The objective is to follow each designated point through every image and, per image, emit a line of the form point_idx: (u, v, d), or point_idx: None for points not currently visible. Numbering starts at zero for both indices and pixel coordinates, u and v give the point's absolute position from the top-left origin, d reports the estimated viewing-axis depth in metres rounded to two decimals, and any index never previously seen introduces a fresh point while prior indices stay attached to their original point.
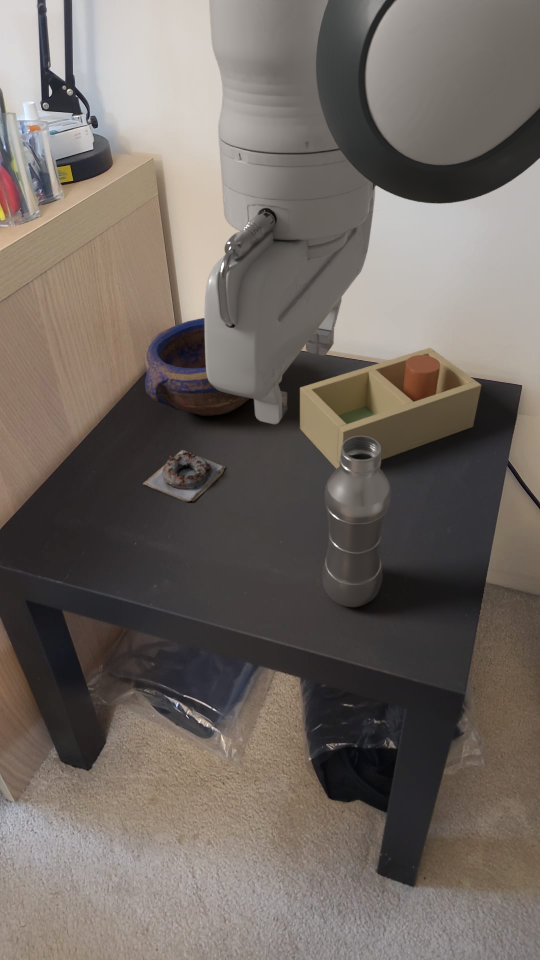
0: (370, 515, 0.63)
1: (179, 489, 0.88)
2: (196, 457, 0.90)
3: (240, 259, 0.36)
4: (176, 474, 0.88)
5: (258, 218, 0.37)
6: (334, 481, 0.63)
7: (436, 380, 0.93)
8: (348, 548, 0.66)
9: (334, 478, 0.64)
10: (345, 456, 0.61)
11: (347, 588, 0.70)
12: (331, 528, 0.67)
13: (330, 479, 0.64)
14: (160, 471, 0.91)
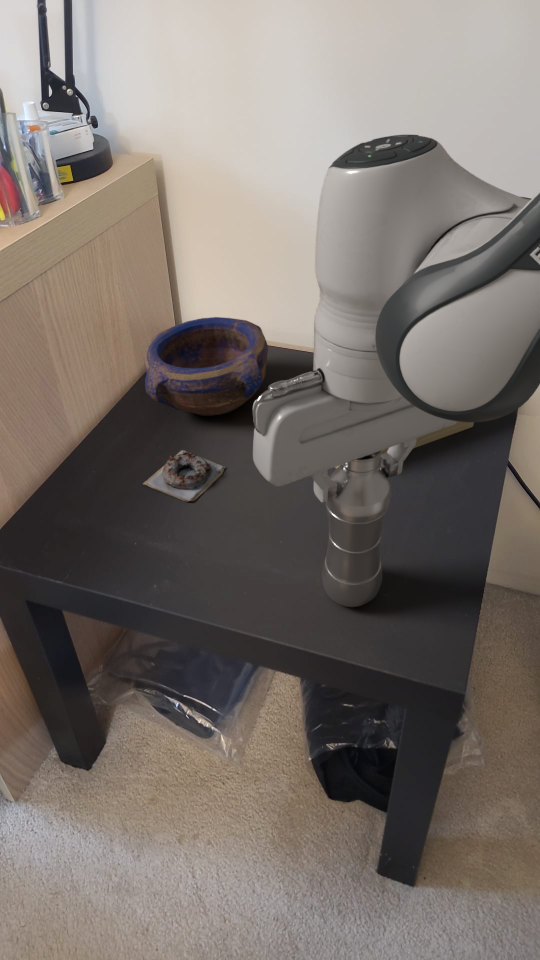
0: (370, 515, 0.63)
1: (179, 489, 0.88)
2: (196, 457, 0.90)
3: (276, 398, 0.53)
4: (176, 474, 0.88)
5: (306, 375, 0.54)
6: (334, 481, 0.63)
7: None
8: (348, 548, 0.66)
9: (334, 478, 0.64)
10: None
11: (346, 588, 0.70)
12: (331, 528, 0.67)
13: None
14: (160, 471, 0.91)
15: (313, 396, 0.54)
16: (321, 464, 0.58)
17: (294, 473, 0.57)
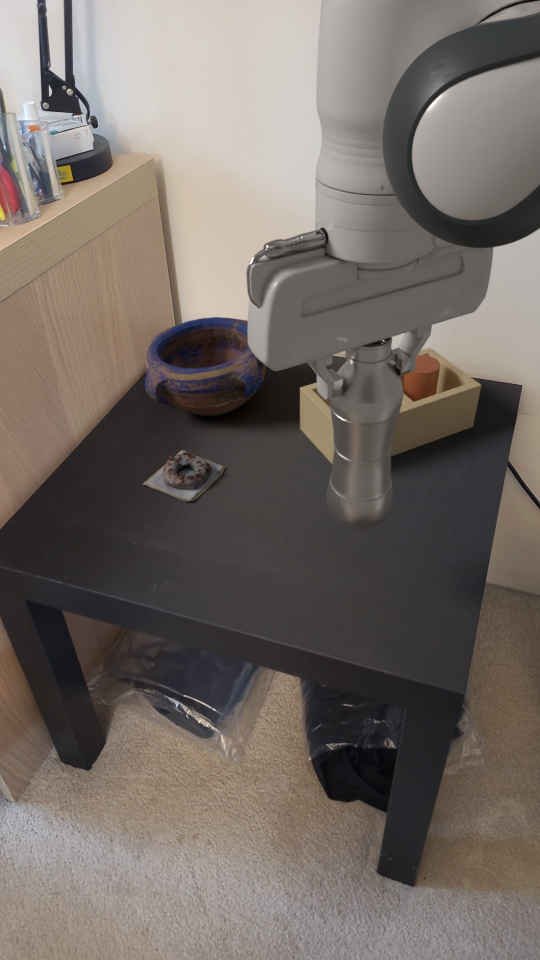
0: (380, 413, 0.56)
1: (179, 489, 0.88)
2: (196, 457, 0.90)
3: (273, 259, 0.47)
4: (176, 474, 0.88)
5: (307, 233, 0.47)
6: None
7: (436, 380, 0.93)
8: (355, 457, 0.60)
9: (340, 374, 0.57)
10: None
11: (354, 507, 0.63)
12: (336, 435, 0.60)
13: None
14: (160, 471, 0.91)
15: (315, 260, 0.48)
16: (325, 346, 0.51)
17: (294, 355, 0.50)
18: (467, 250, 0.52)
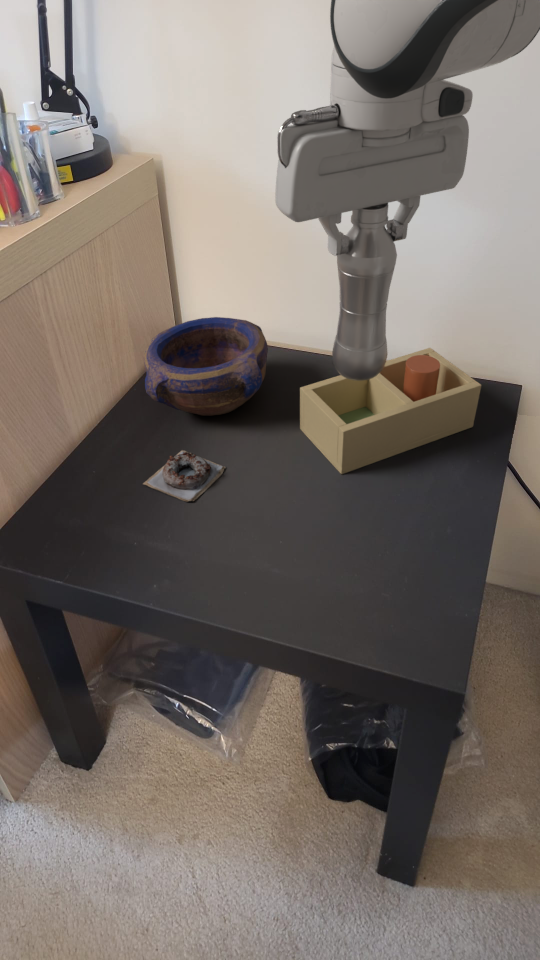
0: (378, 267, 0.70)
1: (179, 489, 0.88)
2: (196, 457, 0.90)
3: (298, 126, 0.60)
4: (176, 474, 0.88)
5: (325, 107, 0.61)
6: None
7: (436, 380, 0.93)
8: (357, 310, 0.74)
9: None
10: None
11: (355, 356, 0.77)
12: (342, 292, 0.74)
13: None
14: (160, 471, 0.91)
15: (330, 129, 0.62)
16: (336, 204, 0.65)
17: (312, 208, 0.64)
18: (448, 130, 0.66)
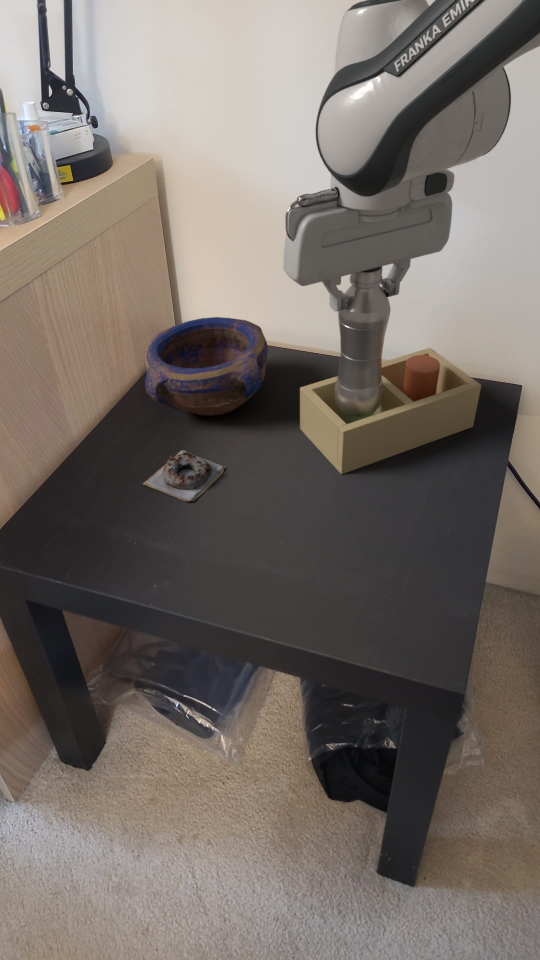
0: (374, 321, 0.80)
1: (179, 489, 0.88)
2: (196, 457, 0.90)
3: (303, 207, 0.70)
4: (176, 474, 0.88)
5: (326, 190, 0.71)
6: None
7: (436, 380, 0.93)
8: (356, 356, 0.84)
9: None
10: None
11: (354, 396, 0.87)
12: (342, 341, 0.84)
13: None
14: (160, 471, 0.91)
15: (331, 208, 0.71)
16: (336, 269, 0.75)
17: (316, 274, 0.74)
18: (434, 205, 0.75)
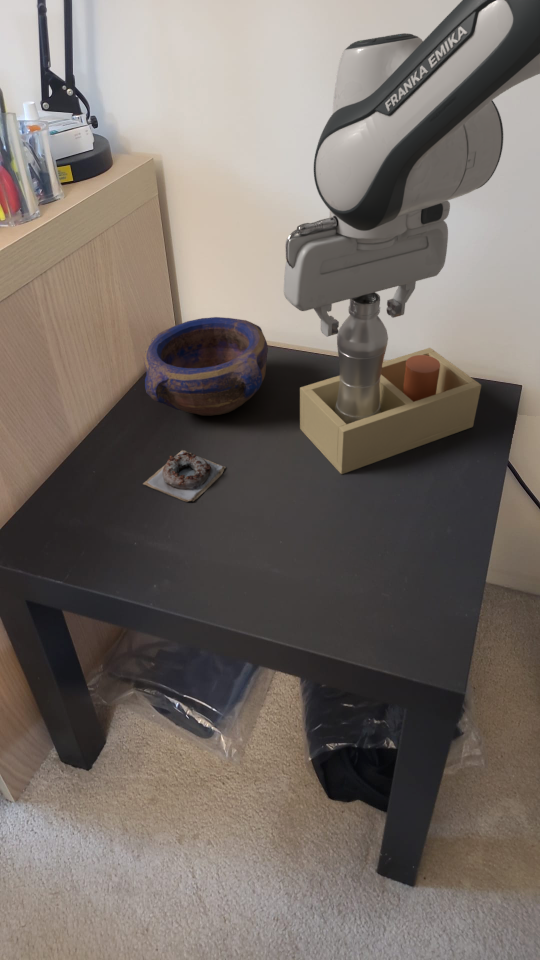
0: (372, 350, 0.82)
1: (179, 489, 0.88)
2: (196, 457, 0.90)
3: (302, 236, 0.72)
4: (176, 474, 0.88)
5: (325, 219, 0.73)
6: (344, 326, 0.83)
7: (436, 380, 0.93)
8: (355, 383, 0.86)
9: (344, 324, 0.83)
10: (353, 302, 0.80)
11: (353, 421, 0.89)
12: (341, 368, 0.86)
13: (341, 326, 0.84)
14: (160, 471, 0.91)
15: (330, 237, 0.73)
16: (335, 295, 0.77)
17: (315, 300, 0.76)
18: (430, 232, 0.77)
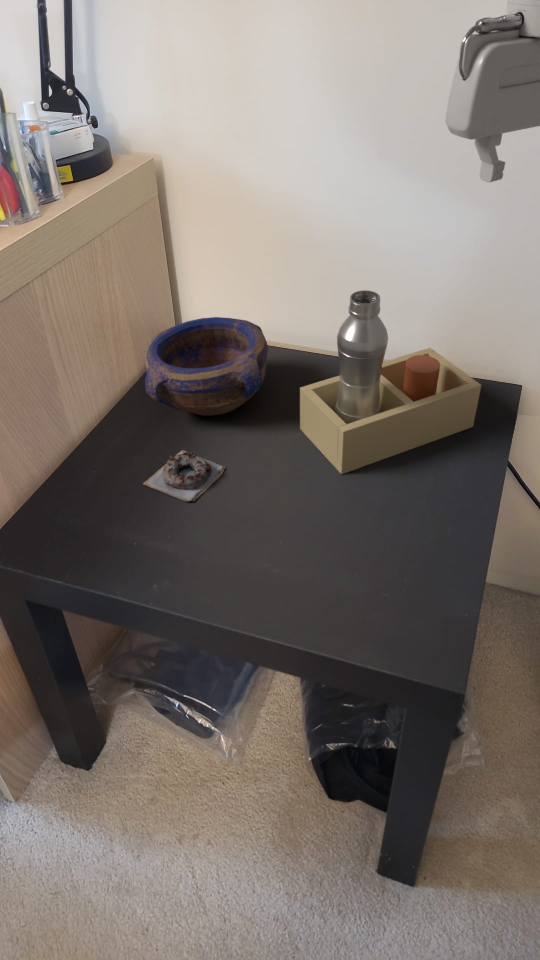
0: (372, 350, 0.82)
1: (179, 489, 0.88)
2: (196, 457, 0.90)
3: (482, 34, 0.59)
4: (176, 474, 0.88)
5: (508, 15, 0.59)
6: (344, 326, 0.83)
7: (436, 380, 0.93)
8: (355, 383, 0.86)
9: (344, 324, 0.83)
10: (353, 302, 0.81)
11: (353, 421, 0.89)
12: (342, 368, 0.86)
13: (341, 326, 0.84)
14: (160, 471, 0.91)
15: (512, 39, 0.60)
16: (510, 120, 0.63)
17: (488, 124, 0.62)
18: None
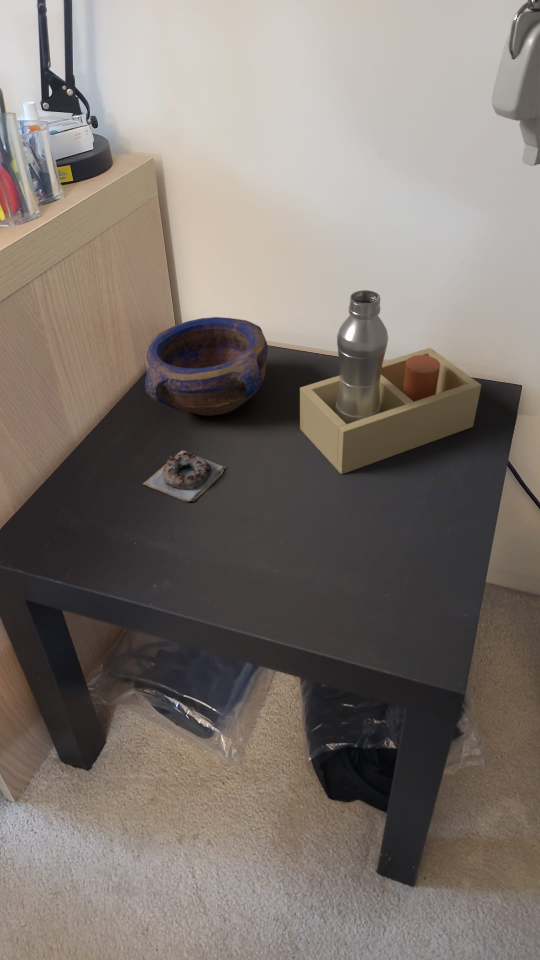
0: (372, 350, 0.82)
1: (179, 489, 0.88)
2: (196, 457, 0.90)
3: (534, 11, 0.57)
4: (176, 474, 0.88)
5: None
6: (344, 326, 0.83)
7: (436, 380, 0.93)
8: (355, 383, 0.86)
9: (344, 324, 0.83)
10: (353, 302, 0.81)
11: (353, 421, 0.89)
12: (342, 368, 0.86)
13: (341, 326, 0.84)
14: (160, 471, 0.91)
15: None
16: None
17: (536, 105, 0.61)
18: None
